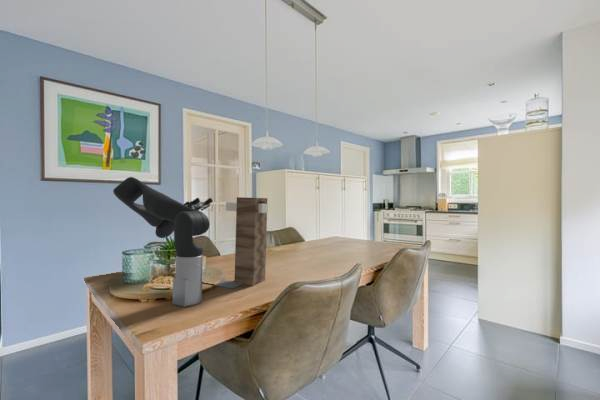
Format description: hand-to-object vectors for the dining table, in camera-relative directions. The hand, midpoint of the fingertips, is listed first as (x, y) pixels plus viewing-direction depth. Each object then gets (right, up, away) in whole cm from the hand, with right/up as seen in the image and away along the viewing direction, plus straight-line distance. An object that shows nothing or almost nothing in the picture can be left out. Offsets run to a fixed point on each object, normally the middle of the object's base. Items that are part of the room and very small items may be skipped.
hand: (205, 199), depth 136 cm
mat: (+7, -37, -10) cm, 39 cm away
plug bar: (+21, -6, -6) cm, 22 cm away
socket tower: (+23, -38, -7) cm, 45 cm away
